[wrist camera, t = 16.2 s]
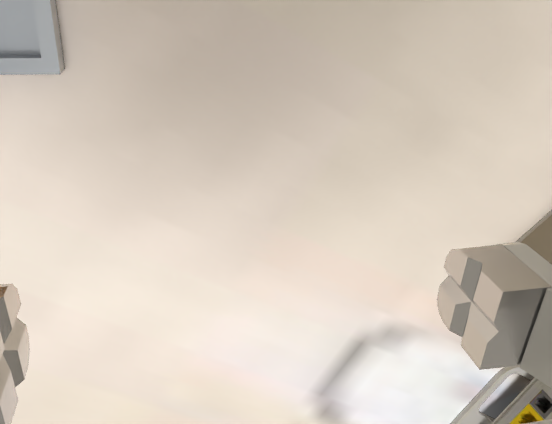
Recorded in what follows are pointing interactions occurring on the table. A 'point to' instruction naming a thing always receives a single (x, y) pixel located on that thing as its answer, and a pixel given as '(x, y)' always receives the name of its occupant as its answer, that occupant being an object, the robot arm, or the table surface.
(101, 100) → the table surface
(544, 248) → the laptop
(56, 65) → the tray
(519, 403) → the network device
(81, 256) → the table surface
